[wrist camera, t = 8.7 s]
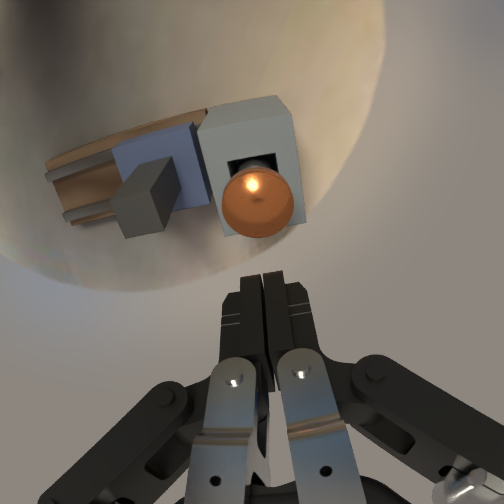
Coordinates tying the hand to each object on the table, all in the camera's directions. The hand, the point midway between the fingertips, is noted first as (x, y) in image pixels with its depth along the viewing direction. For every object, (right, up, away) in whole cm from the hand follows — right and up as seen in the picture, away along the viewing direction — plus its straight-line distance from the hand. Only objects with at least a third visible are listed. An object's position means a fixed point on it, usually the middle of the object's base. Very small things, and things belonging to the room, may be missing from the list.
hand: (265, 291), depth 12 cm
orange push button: (0, +7, +10) cm, 13 cm away
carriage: (-8, +9, +16) cm, 20 cm away
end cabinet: (-1, +12, +17) cm, 21 cm away
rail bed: (-13, +10, +18) cm, 24 cm away
